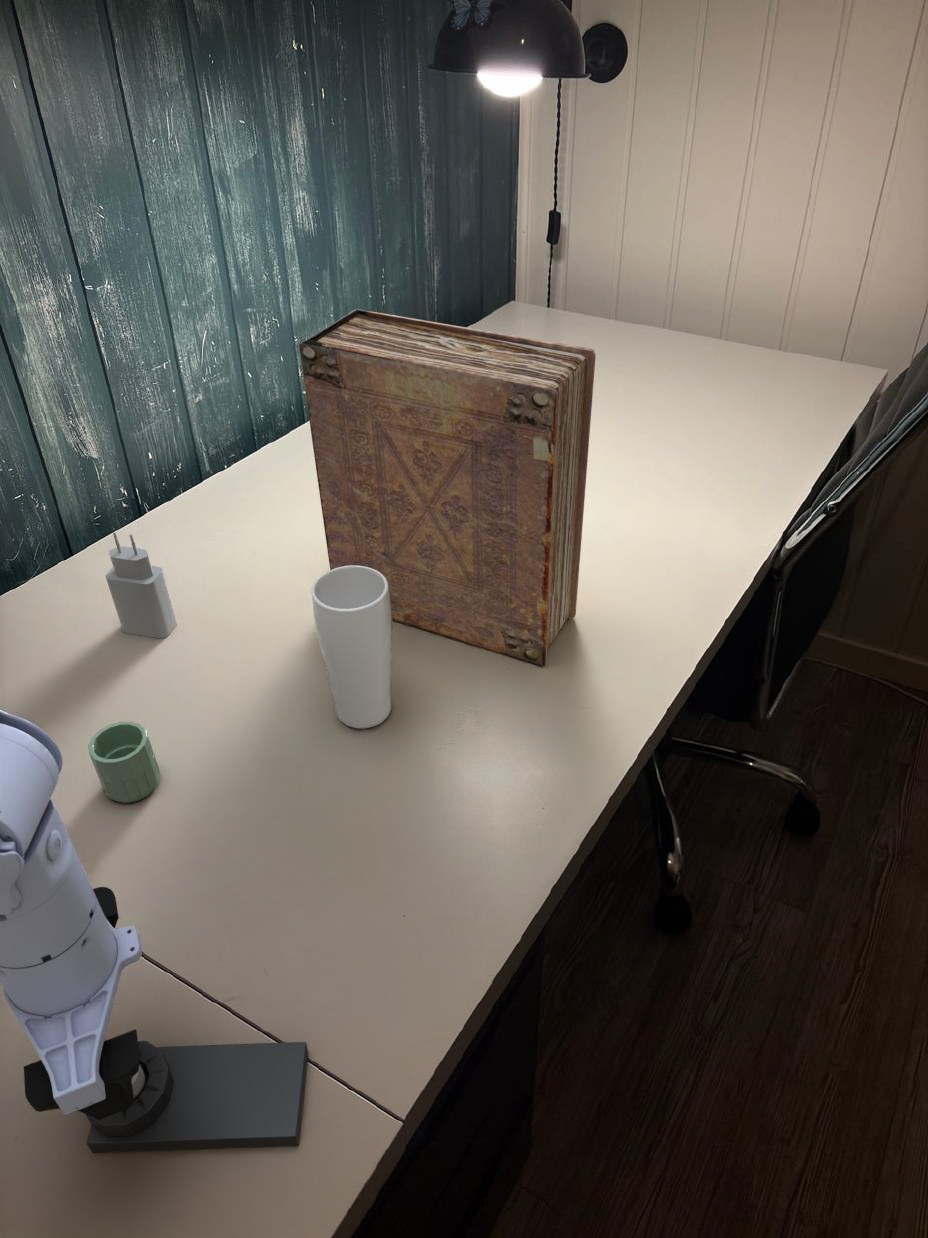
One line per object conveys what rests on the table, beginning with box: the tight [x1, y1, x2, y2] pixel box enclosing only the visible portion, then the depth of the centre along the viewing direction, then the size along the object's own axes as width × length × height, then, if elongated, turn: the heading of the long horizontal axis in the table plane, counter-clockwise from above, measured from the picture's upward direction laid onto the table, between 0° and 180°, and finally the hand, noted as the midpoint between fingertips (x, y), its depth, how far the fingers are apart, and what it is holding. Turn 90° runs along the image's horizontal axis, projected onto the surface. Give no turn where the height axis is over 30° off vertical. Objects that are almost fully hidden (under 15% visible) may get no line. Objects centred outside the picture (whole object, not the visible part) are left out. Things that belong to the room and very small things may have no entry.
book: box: [298, 308, 597, 668], centre depth 91 cm, size 25×9×30 cm, turn 63°
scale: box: [84, 1040, 309, 1154], centre depth 59 cm, size 14×6×3 cm, turn 92°
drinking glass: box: [310, 565, 393, 729], centre depth 83 cm, size 7×7×15 cm
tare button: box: [132, 1065, 145, 1098], centre depth 58 cm, size 2×2×2 cm
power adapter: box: [105, 531, 178, 639], centre depth 95 cm, size 3×5×12 cm, turn 76°
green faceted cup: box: [87, 720, 161, 804], centre depth 80 cm, size 5×5×6 cm
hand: (106, 1047), depth 55 cm, fingers open, 7 cm apart
